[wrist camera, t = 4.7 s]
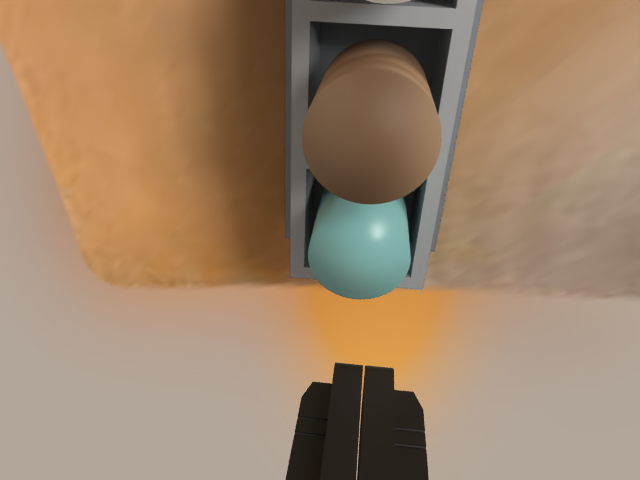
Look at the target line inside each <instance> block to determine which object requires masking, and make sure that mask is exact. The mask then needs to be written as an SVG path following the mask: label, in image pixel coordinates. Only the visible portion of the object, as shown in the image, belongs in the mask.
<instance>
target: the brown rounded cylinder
mask: <svg viewBox="0 0 640 480" xmlns="http://www.w3.org/2000/svg"><path fill="white" fill-rule="evenodd" d="M441 142H442V130H441V124H440V120H439V116H438V113H437V110H436V107H435V104H434V101H433V98H432V95H431V91H430V88H429V85H428V82H427V79H426V76H425V73H424V70H423V68H422V66H421V64H420V63H419V61H418V60H417V58H416V57H415V56H414V55H413V54H412V53H411V52H410V51H409V50H408V49H407V48H405V47H403V46H402V45H400V44H398V43H396V42H393V41H389V40H385V39H367V40H362V41H359V42H356V43H354V44H352V45H350V46H348V47H347V48H345V49H344V50H343V51H341V52H340V53H339V54H338V55H337V56H336V57H335V58H334V59H333V61H332V62H331V64H330V65H329V67H328V69H327V71H326V73H325V75H324V77H323V79H322V81H321V84H320V86H319V88H318V90H317V92H316V94H315V97H314V99H313V101H312V103H311V105H310V107H309V110H308V112H307V114H306V117H305V120H304V124H303V129H302V148H303V153H304V157H305V160H306V163H307V165H308V167H309V169H310V171H311V172H312V174H313V175H314V177H315V178H316V179H317V180H318V182H319V183H320V184H321V185H322V186H323V187H324V188H326V189H327V190H328V191H330V192H331V193H332V194H334V195H336V196H338V197H340V198H342V199H344V200H347V201H350V202H354V203H359V204H372V205H373V204H383V203H388V202H391V201H394V200H397V199H400V198H402V197H404V196H406V195H408V194H409V193H411V192H412V191H414V190H415V189H416V188H417V187H419V186H420V185H421V184H422V183H423V182H424V181H425V180H426V179H427V177H428V176H429V174H430V173H431V172H432V170H433V168H434V166H435V164H436V162H437V159H438V157H439V153H440V149H441Z"/></svg>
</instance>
